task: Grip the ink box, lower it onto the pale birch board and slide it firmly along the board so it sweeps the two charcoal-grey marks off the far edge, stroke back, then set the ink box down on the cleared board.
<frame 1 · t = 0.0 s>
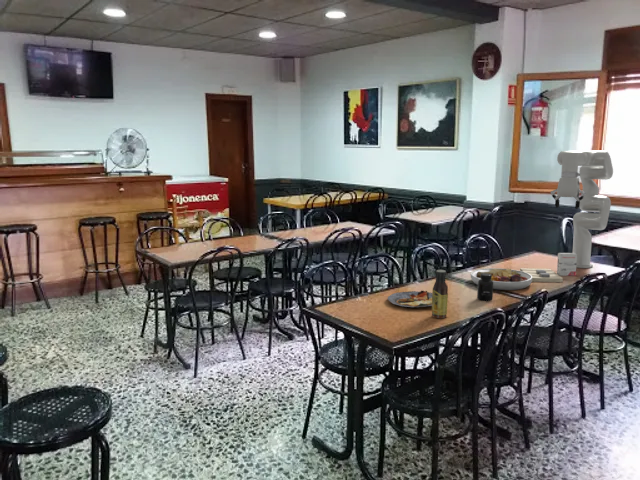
hand: (567, 208, 268), 37 cm above the table, tool pointing down, fingers open, 9 cm apart
ink box: (565, 275, 279), on the table
supplement bottle: (484, 300, 236), on the table
grey mark B: (544, 276, 268), point 2 cm above the table, touching birch board
food plate: (415, 303, 233), on the table
sauce bottle: (439, 317, 213), on the table
bowl: (500, 284, 263), on the table
birch board: (540, 276, 275), on the table
grey mark A: (540, 273, 275), point 2 cm above the table, touching birch board
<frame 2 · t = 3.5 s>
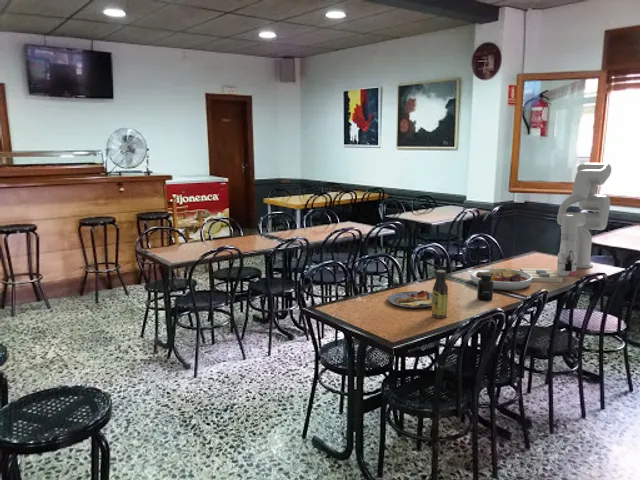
hand: (566, 269, 279), 3 cm above the table, tool pointing down, fingers closed on ink box, 5 cm apart
ink box: (566, 274, 279), on the table, touching gripper
everything else where it was.
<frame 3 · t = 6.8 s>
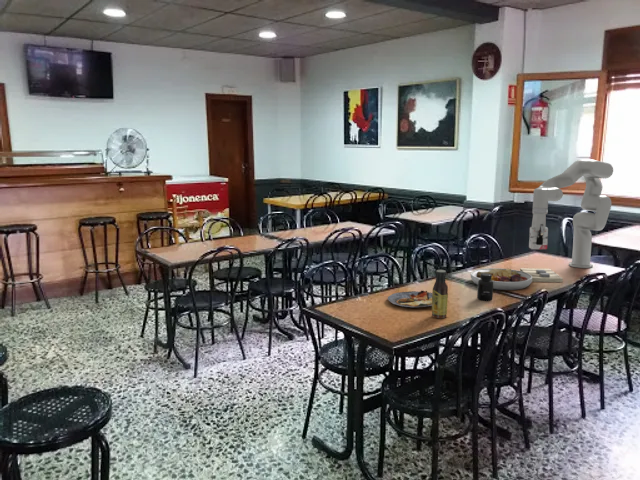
hand: (538, 243, 280), 17 cm above the table, tool pointing down, fingers closed on ink box, 5 cm apart
ink box: (537, 248, 281), point 14 cm above the table, touching gripper
everything else where it was.
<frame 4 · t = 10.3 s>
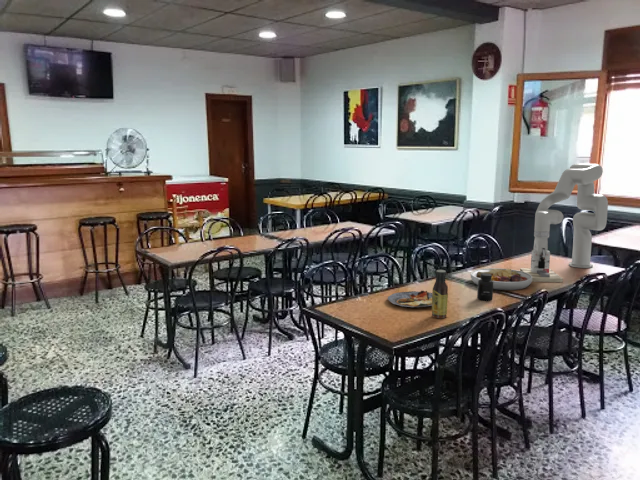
hand: (539, 266, 277), 5 cm above the table, tool pointing down, fingers closed on ink box, 5 cm apart
ink box: (539, 272, 278), point 2 cm above the table, touching grey mark A, gripper
grey mark A: (541, 274, 273), point 2 cm above the table, touching birch board, ink box
everything else where it was.
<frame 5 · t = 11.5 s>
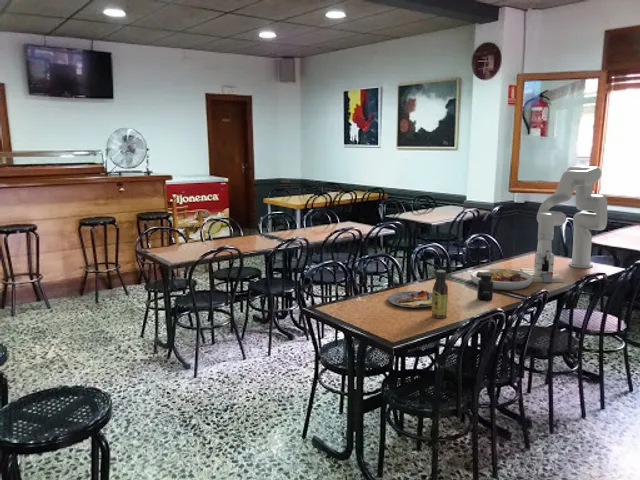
hand: (543, 269, 270), 5 cm above the table, tool pointing down, fingers closed on ink box, 5 cm apart
ink box: (543, 275, 271), point 2 cm above the table, touching grey mark A, gripper
grey mark B: (547, 279, 263), point 2 cm above the table, tilted 59°
grey mark A: (545, 277, 266), point 2 cm above the table, touching birch board, ink box
everything else where it was.
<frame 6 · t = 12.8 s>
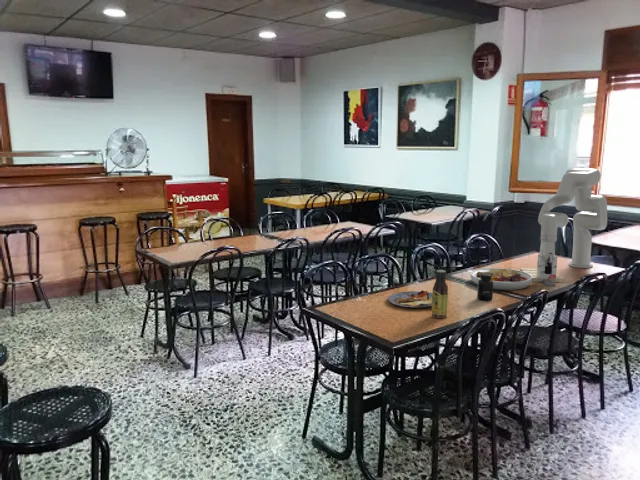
hand: (546, 272, 265), 5 cm above the table, tool pointing down, fingers closed on ink box, 5 cm apart
ink box: (545, 277, 266), point 2 cm above the table, touching gripper
grey mark B: (550, 283, 258), point 1 cm above the table, tilted 180°
grey mark A: (547, 283, 262), on the table
everything else where it was.
when the fingers open (6 cm above the table, at t = 17.5 s): ink box drops 1 cm, resting on birch board.
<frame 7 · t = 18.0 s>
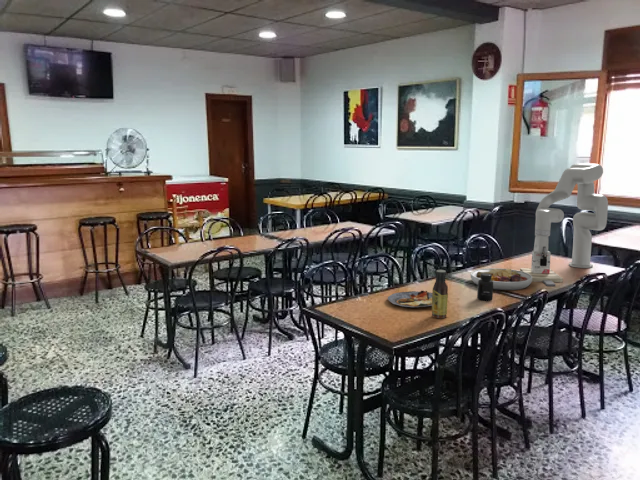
hand: (540, 263, 275), 7 cm above the table, tool pointing down, fingers open, 9 cm apart
ink box: (540, 272, 276), point 2 cm above the table, touching birch board
everything else where it was.
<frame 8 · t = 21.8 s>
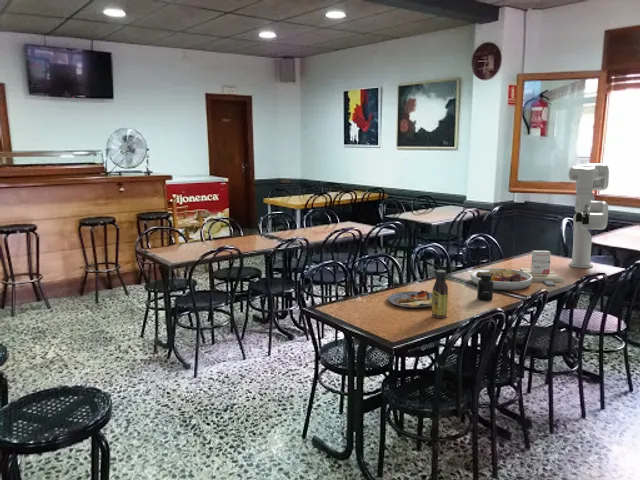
hand: (581, 223, 275), 28 cm above the table, tool pointing down, fingers open, 9 cm apart
nothing on the table moved.
at the end: grey mark A on the table; grey mark B point 1.0 cm above the table; ink box tilted 0° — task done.
